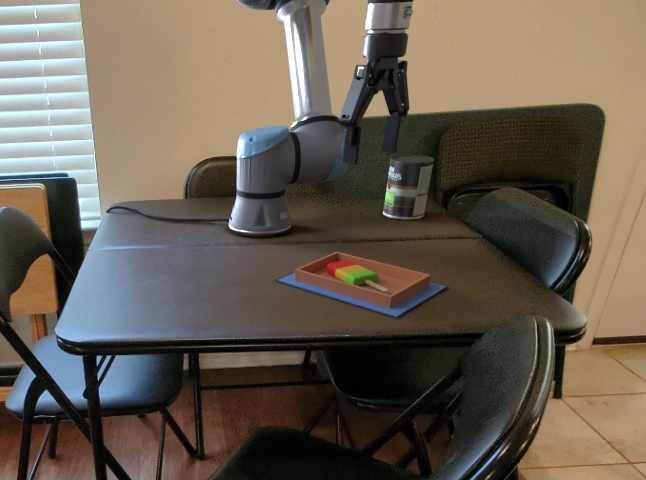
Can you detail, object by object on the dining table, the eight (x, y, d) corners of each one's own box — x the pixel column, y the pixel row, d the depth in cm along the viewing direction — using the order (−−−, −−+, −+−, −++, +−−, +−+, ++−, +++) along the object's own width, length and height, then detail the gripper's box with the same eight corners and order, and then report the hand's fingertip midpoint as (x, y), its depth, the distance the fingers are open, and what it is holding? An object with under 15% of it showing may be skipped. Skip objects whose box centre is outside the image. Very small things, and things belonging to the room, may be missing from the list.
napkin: (277, 281, 114) (278, 279, 114) (331, 258, 125) (331, 256, 125) (396, 317, 98) (397, 316, 98) (446, 287, 108) (446, 286, 108)
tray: (293, 281, 114) (294, 269, 112) (335, 263, 122) (336, 251, 121) (389, 310, 101) (391, 296, 99) (428, 287, 109) (431, 274, 108)
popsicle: (346, 267, 118) (347, 258, 117) (398, 293, 106) (400, 283, 105) (323, 272, 116) (324, 263, 115) (373, 299, 104) (375, 288, 103)
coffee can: (392, 221, 147) (401, 163, 141) (376, 210, 156) (383, 155, 150) (432, 218, 148) (442, 160, 141) (413, 208, 157) (422, 153, 150)
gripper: (365, 34, 93) (349, 171, 104) (441, 29, 107) (420, 150, 118) (326, 35, 98) (314, 165, 109) (403, 29, 112) (387, 145, 123)
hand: (369, 157), depth 114 cm, fingers open, 13 cm apart
